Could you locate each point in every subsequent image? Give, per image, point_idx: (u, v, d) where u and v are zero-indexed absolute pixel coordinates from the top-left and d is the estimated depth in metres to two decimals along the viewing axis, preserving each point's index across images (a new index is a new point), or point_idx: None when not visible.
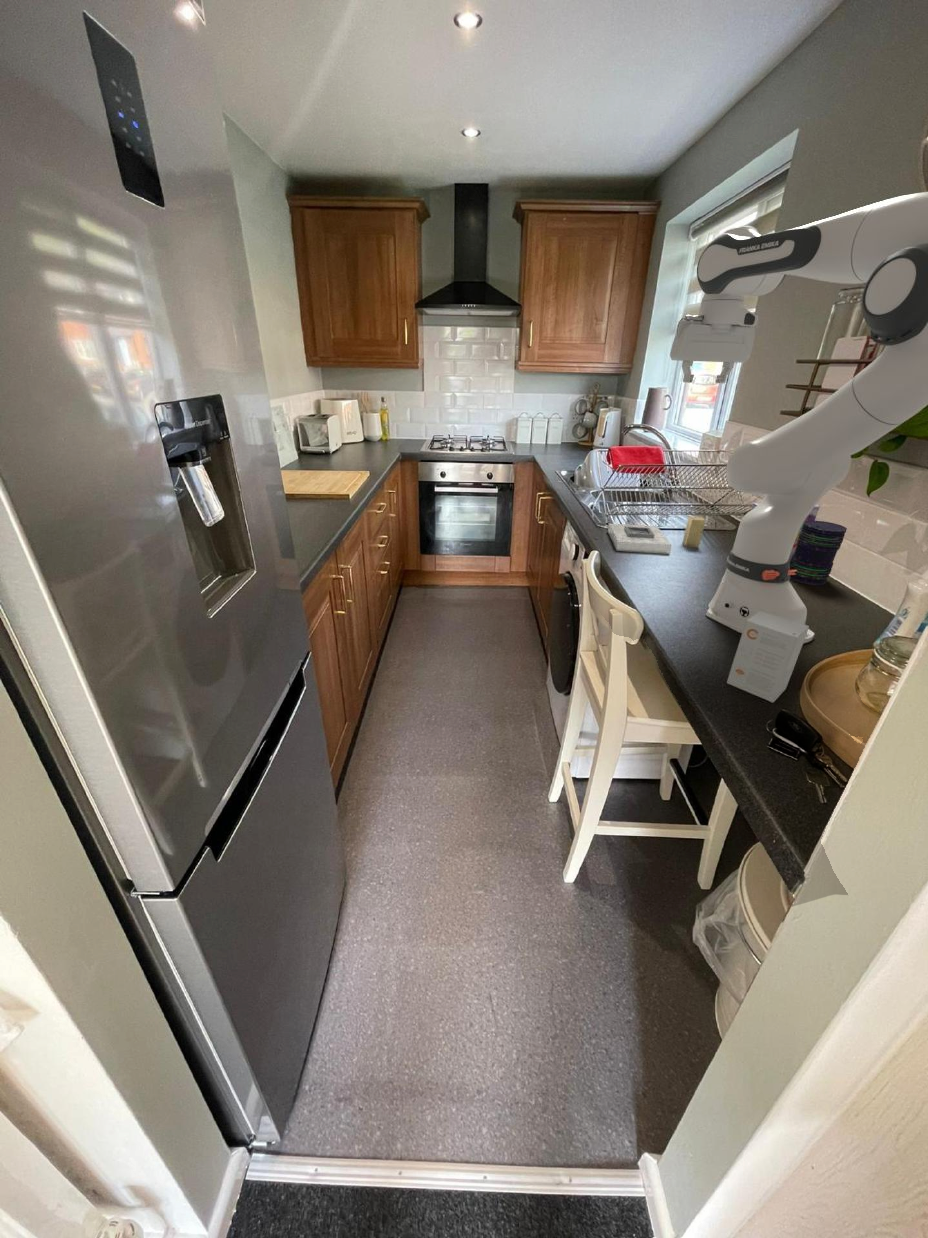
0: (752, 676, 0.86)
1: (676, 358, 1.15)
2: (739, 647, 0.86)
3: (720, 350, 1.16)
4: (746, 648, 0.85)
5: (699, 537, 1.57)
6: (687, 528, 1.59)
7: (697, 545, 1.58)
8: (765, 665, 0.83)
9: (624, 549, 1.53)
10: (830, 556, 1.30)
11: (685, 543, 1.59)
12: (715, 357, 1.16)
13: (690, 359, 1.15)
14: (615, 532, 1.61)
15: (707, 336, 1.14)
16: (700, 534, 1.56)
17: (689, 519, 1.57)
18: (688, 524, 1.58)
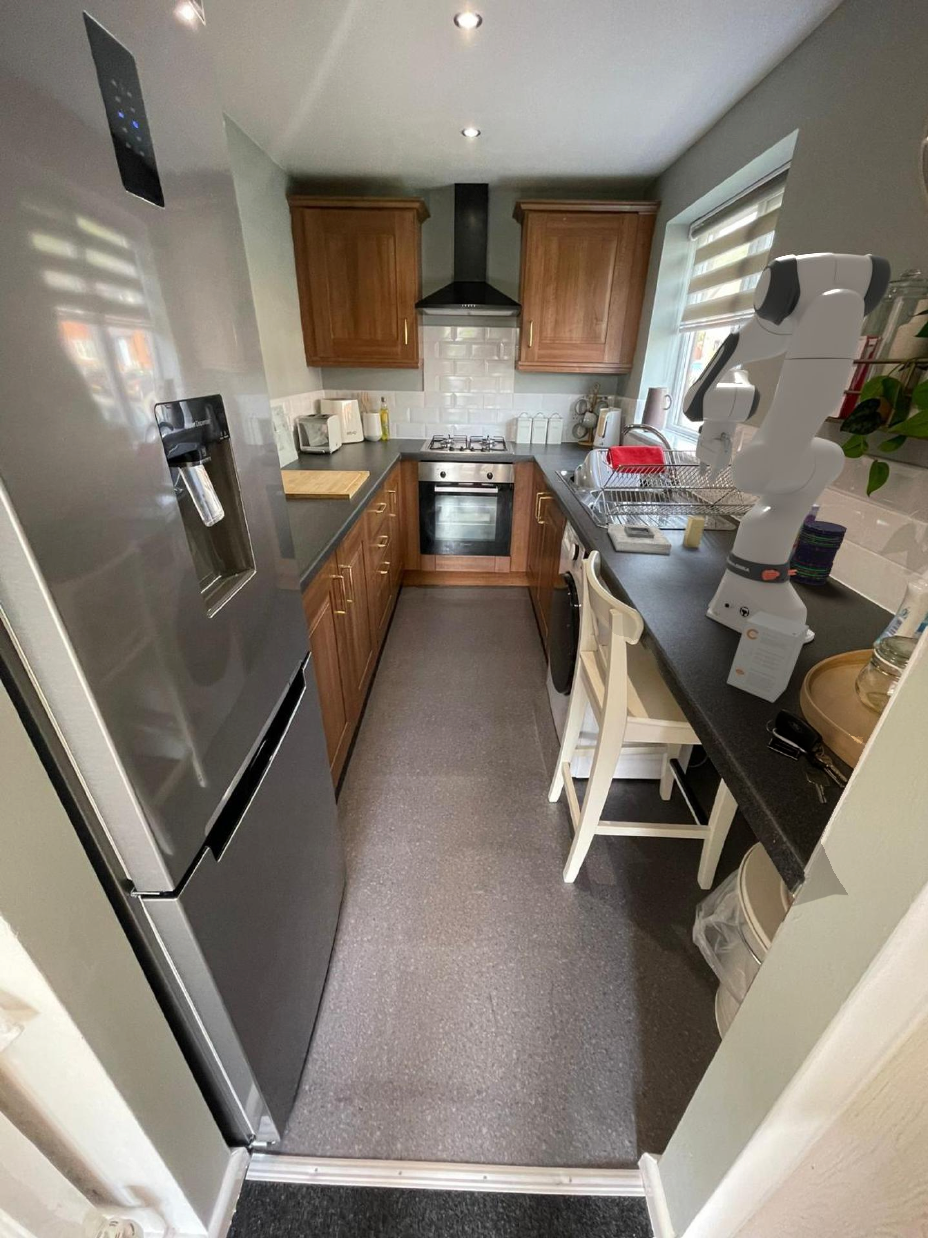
0: (752, 676, 0.86)
1: (724, 468, 1.40)
2: (739, 647, 0.86)
3: None
4: (746, 648, 0.85)
5: (699, 537, 1.57)
6: (687, 528, 1.59)
7: (697, 545, 1.58)
8: (765, 665, 0.83)
9: (624, 549, 1.53)
10: (830, 556, 1.30)
11: (685, 543, 1.59)
12: None
13: None
14: (615, 532, 1.61)
15: None
16: (700, 534, 1.56)
17: (689, 519, 1.57)
18: (688, 524, 1.58)
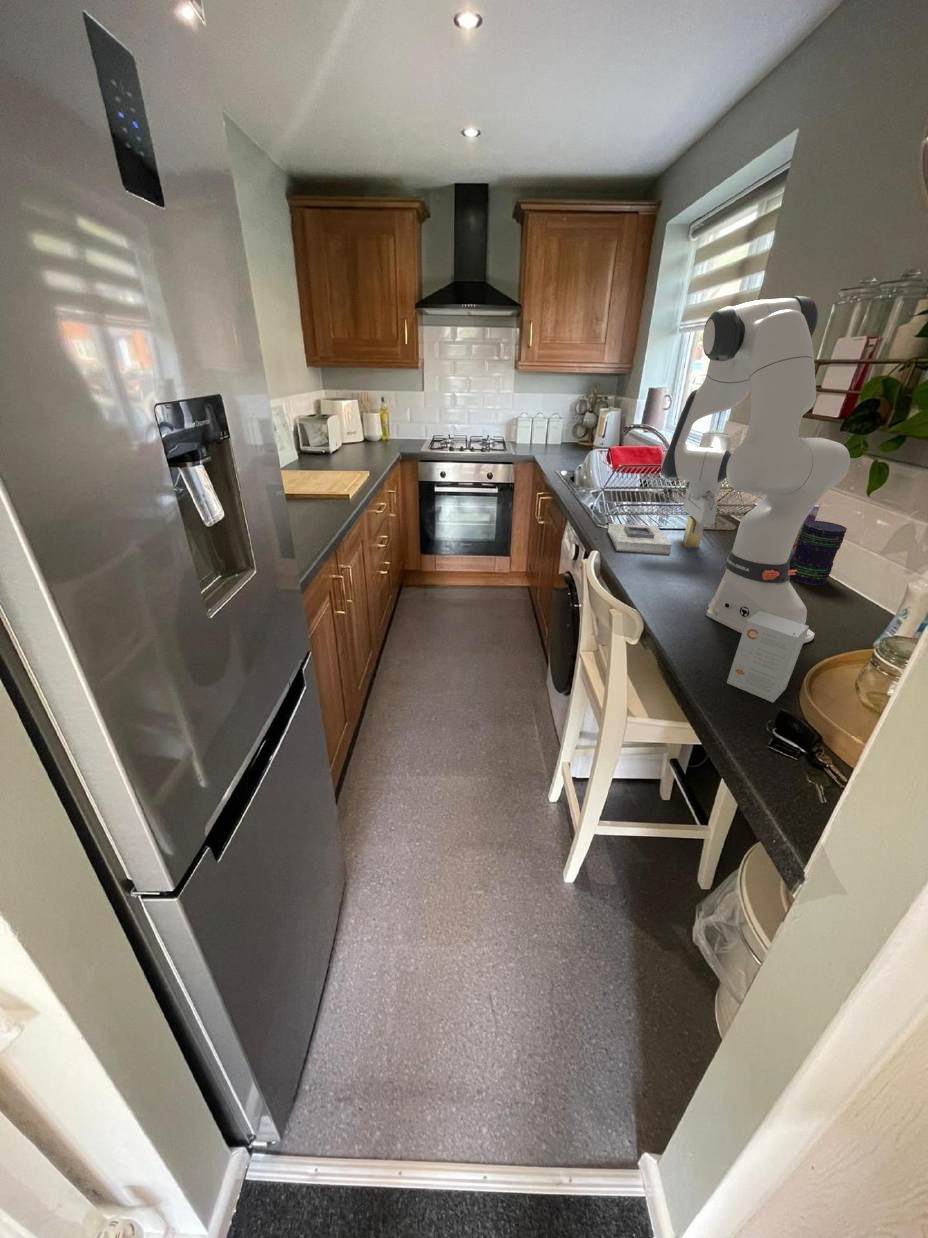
0: (752, 676, 0.86)
1: (709, 524, 1.47)
2: (739, 647, 0.86)
3: None
4: (746, 648, 0.85)
5: (699, 537, 1.57)
6: (687, 528, 1.59)
7: (697, 545, 1.58)
8: (765, 665, 0.83)
9: (624, 549, 1.53)
10: (830, 556, 1.30)
11: (685, 543, 1.59)
12: None
13: None
14: (615, 532, 1.61)
15: None
16: (700, 534, 1.56)
17: (689, 519, 1.57)
18: (688, 524, 1.58)
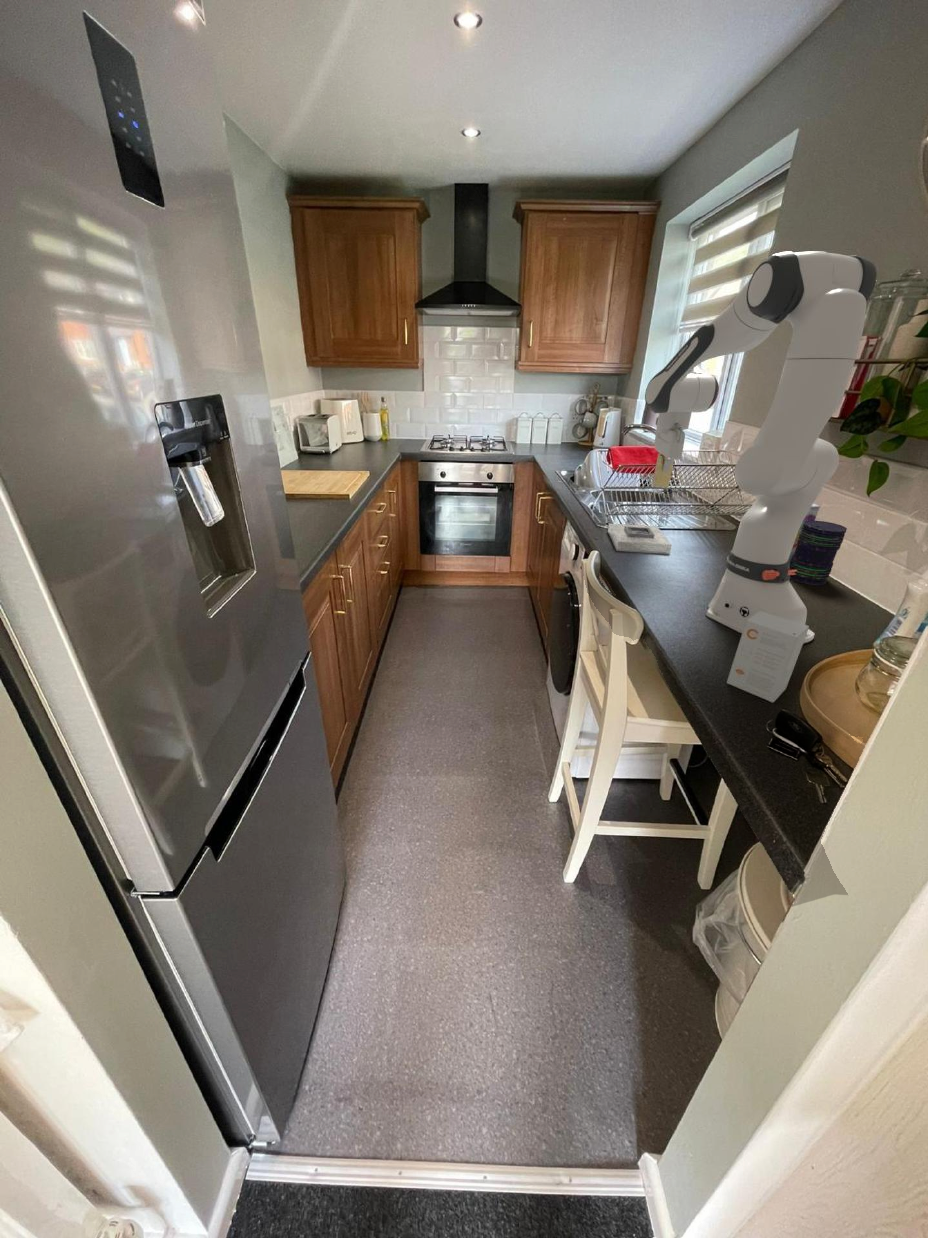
0: (752, 676, 0.86)
1: (677, 458, 1.40)
2: (739, 647, 0.86)
3: None
4: (746, 648, 0.85)
5: (669, 475, 1.50)
6: (656, 466, 1.51)
7: (667, 484, 1.51)
8: (765, 665, 0.83)
9: (624, 549, 1.53)
10: (830, 556, 1.30)
11: (654, 482, 1.52)
12: None
13: None
14: (615, 532, 1.61)
15: None
16: (670, 472, 1.49)
17: (658, 456, 1.50)
18: (658, 462, 1.50)
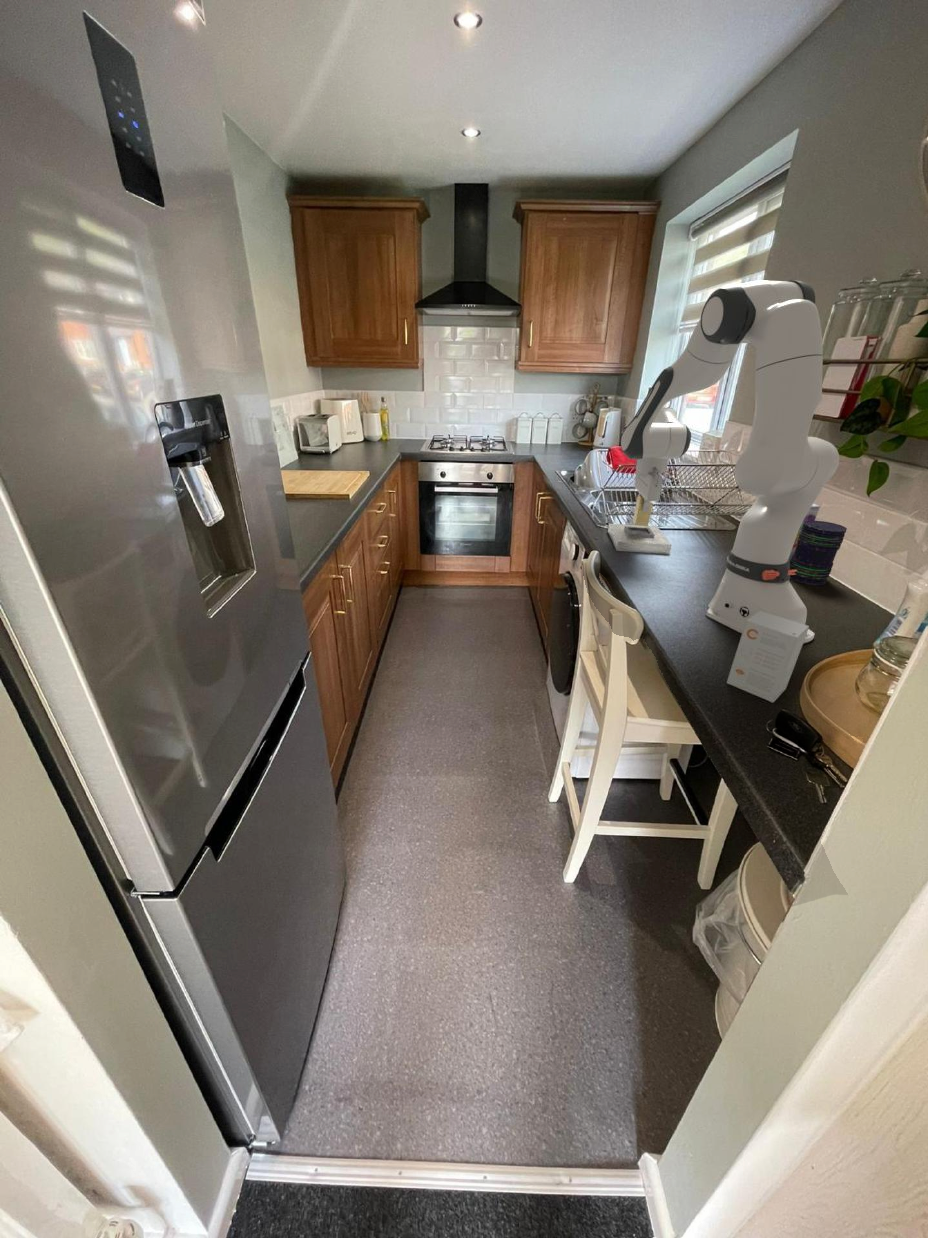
0: (752, 676, 0.86)
1: (655, 501, 1.46)
2: (739, 647, 0.86)
3: None
4: (746, 648, 0.85)
5: (648, 515, 1.55)
6: (636, 506, 1.57)
7: (646, 523, 1.57)
8: (765, 665, 0.83)
9: (624, 549, 1.53)
10: (830, 556, 1.30)
11: (635, 521, 1.58)
12: None
13: None
14: (615, 532, 1.61)
15: None
16: (649, 512, 1.55)
17: (638, 497, 1.56)
18: (637, 502, 1.56)
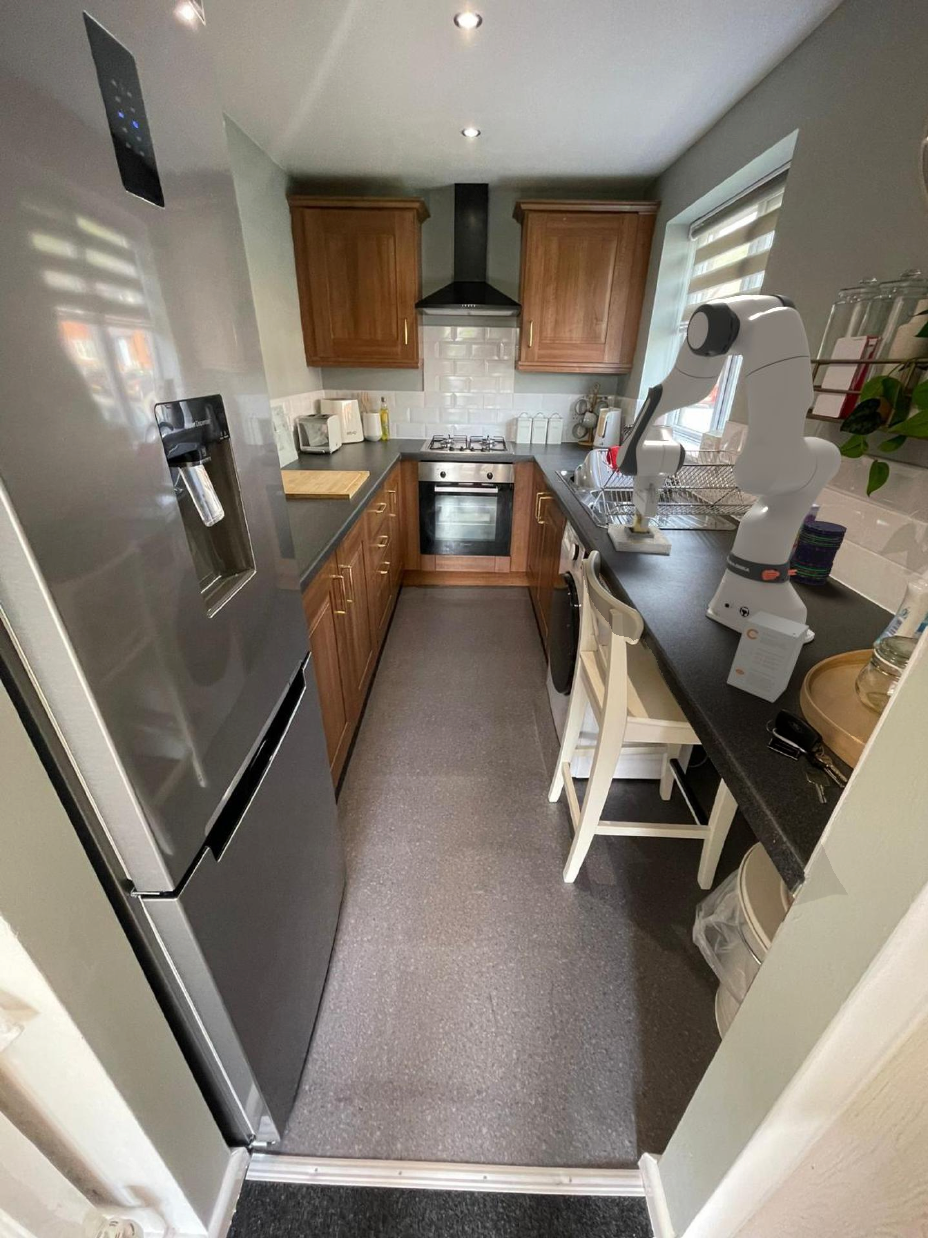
0: (752, 676, 0.86)
1: (652, 517, 1.48)
2: (739, 647, 0.86)
3: None
4: (746, 648, 0.85)
5: None
6: (633, 525, 1.60)
7: None
8: (765, 665, 0.83)
9: (624, 549, 1.53)
10: (830, 556, 1.30)
11: None
12: None
13: None
14: (615, 532, 1.61)
15: None
16: (645, 531, 1.58)
17: (635, 516, 1.59)
18: (634, 521, 1.59)
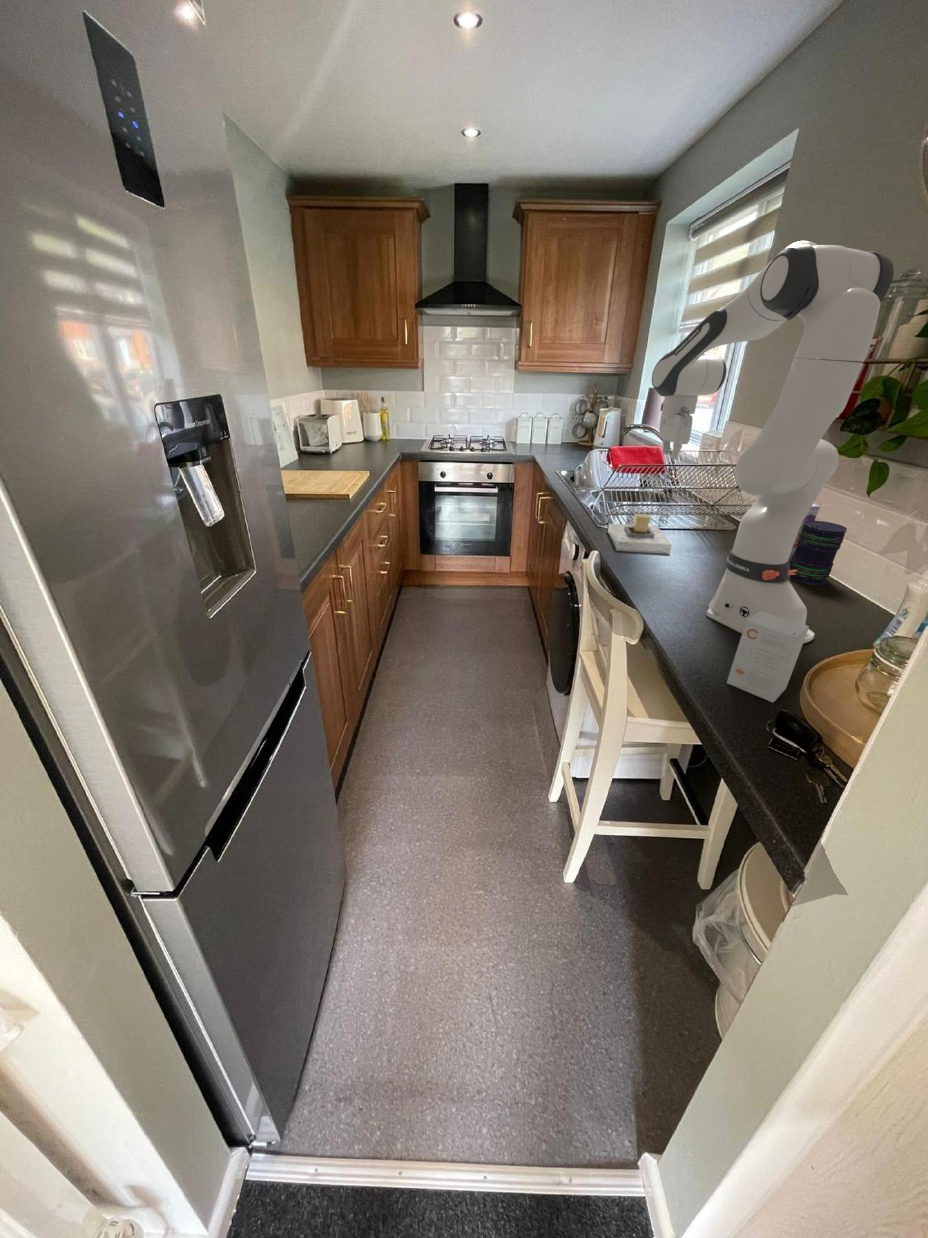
0: (752, 676, 0.86)
1: (685, 443, 1.38)
2: (739, 647, 0.86)
3: None
4: (746, 648, 0.85)
5: None
6: (633, 525, 1.60)
7: None
8: (765, 665, 0.83)
9: (624, 549, 1.53)
10: (830, 556, 1.30)
11: None
12: None
13: None
14: (615, 532, 1.61)
15: None
16: (645, 531, 1.58)
17: (635, 516, 1.59)
18: (634, 522, 1.59)
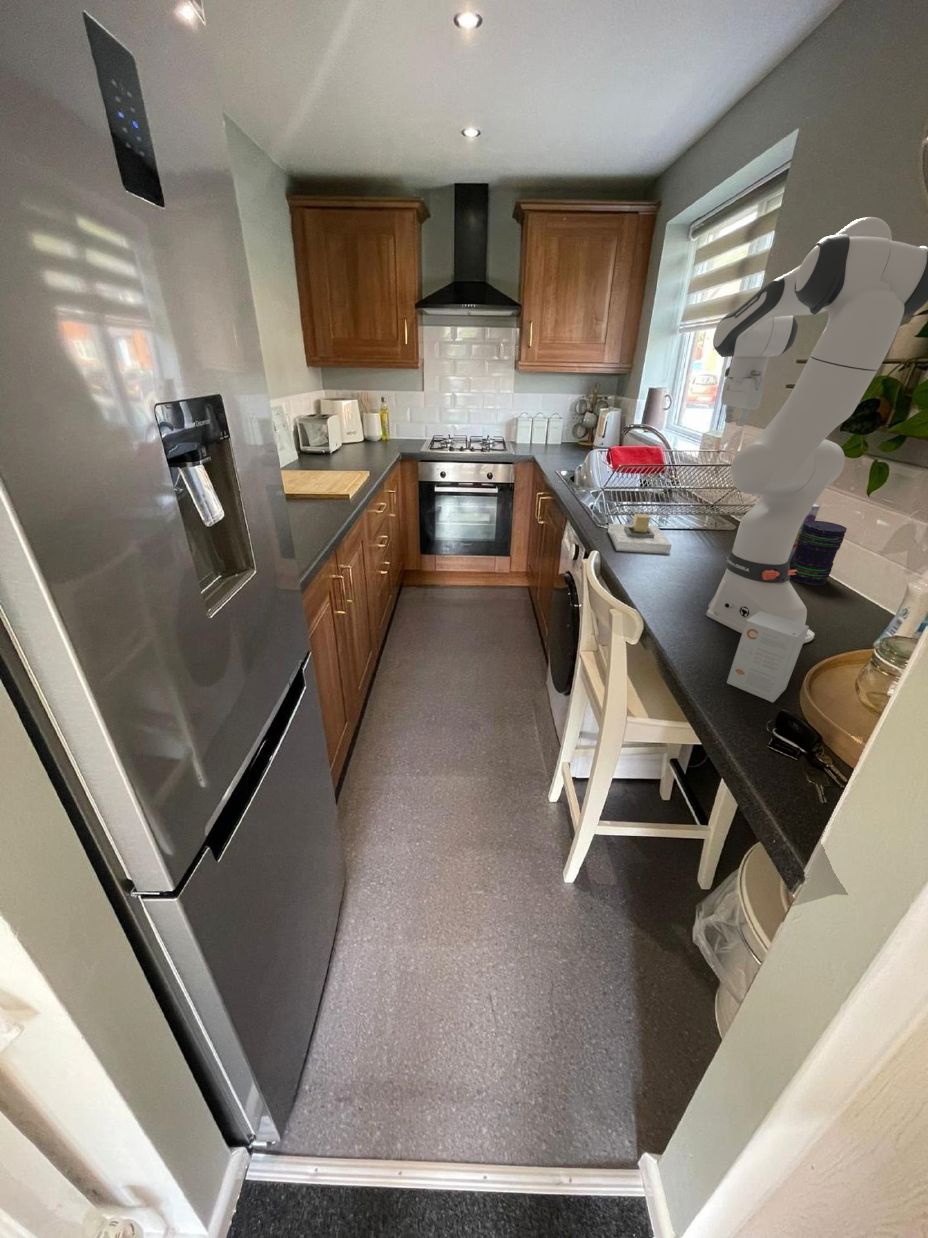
0: (752, 676, 0.86)
1: (755, 407, 1.32)
2: (739, 647, 0.86)
3: None
4: (746, 648, 0.85)
5: None
6: (633, 525, 1.60)
7: None
8: (765, 665, 0.83)
9: (624, 549, 1.53)
10: (830, 556, 1.30)
11: None
12: None
13: None
14: (615, 532, 1.61)
15: None
16: (645, 531, 1.58)
17: (635, 516, 1.59)
18: (634, 522, 1.59)
